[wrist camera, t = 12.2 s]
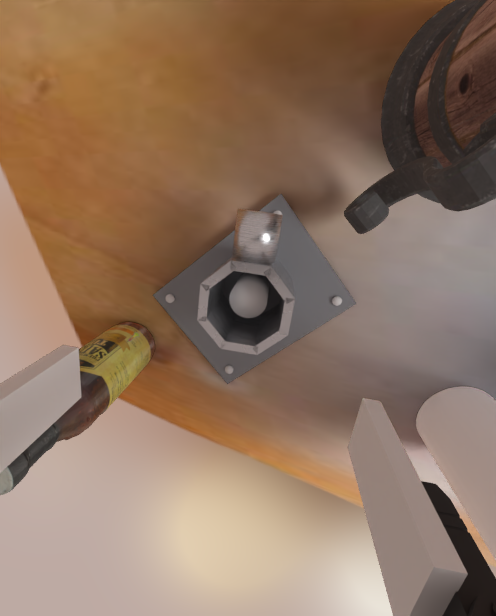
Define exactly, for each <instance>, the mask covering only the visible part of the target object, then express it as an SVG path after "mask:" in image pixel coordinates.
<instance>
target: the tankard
mask: <svg viewBox="0 0 496 616" xmlns="http://www.w3.org/2000/svg"><path fill="white" fill-rule="evenodd" d="M381 128H382V137H383V144H384V147H385V151H386V154H387V157H388V160H389V162H390V164H391V165H392V167H393V169H394V171H393V172H391V173H390V174H388V175H386V176H385V177H383V178H382V179H380V180H379V181H377V182H376V183H375V184H373V185H372V186H371V187H369V188H368V189H367V190H366V191H364V192H363V193H362V194H361V195H360V196H358V197H357V198H356V199H355V200H354V201H353V202H352V203H351V204H350V205H349V206H348V207H347V208H346V210H345V211H344V216H345V217H346V219H347V220H348V221H349V223H350V224H351V225H352V226H353V228H354V229H355V230H356V231H357V233H359V234H364V233H366V232H368V231H370V230H372V229H373V228H375V227H376V226H377V225H379V224H380V223H381V222H382V221H383V220H384V219H385V218H386V217H387V216H388V213H389V209H388V207H390V206H391V205H393V204H395V203H396V202H398V201H400V200H402V199H405V198H407V197H409V196H412V195H414V194H419V195H420V196H422V197H424V198H427V199H429V200H432V201H435V202H437V203H441V204H442V205H443V206H444V208H446V209H449V210H453V211H462V210H468V209H471V208H474V207H477V206H479V205H482V204H484V203H486V202H488V201H490V200H493V199H496V0H455V1H453V2H452V3H450V4H448V5H447V6H445V7H444V8H443V9H441V10H440V11H439V12H438V13H436V14H435V15H434V16H433V17H432V18H430V19H429V20H428V21H427V22H426V23H425V24H424V25H423V26H422V27H421V29H420V30H419V31H418V32H417V33H416V34H415V35H414V37H413V38H412V39H411V40H410V41H409V43H408V44H407V46H406V48H405V49H404V51H403V52H402V54H401V56H400V57H399V59H398V60H397V62H396V65H395V67H394V69H393V72H392V74H391V76H390V79H389V81H388V84H387V88H386V92H385V96H384V100H383V105H382V118H381Z"/></svg>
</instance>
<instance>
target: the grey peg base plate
mask: <svg viewBox="0 0 496 616" xmlns="http://www.w3.org/2000/svg"><path fill="white" fill-rule="evenodd" d="M260 211H261V212H268V213H274V214H280V215H283V217H282V223H281V229H280V235H279V241H278V248H277V254H276V256H277V258H278V259H279V261H280V262H281V263H282V265H283V266H284V267H285V269H286V270H287V272H288V273H289V274H290V276H291V277H292V281H293V288H294V295H295V302H294V307H293V312H292V318H291V323H290V328H289V333H288V336H286V337H285V338H283V339H282V340H280V341H278V342H277V343H275V344H274V345H272V346H271V347H269V348H267V349H266V350H264V351H263V352H261V353H260V354H258V355H254V354H249V353H243V352H237V351H231V350H225V349H221V348H220V347H219V346H218V345H217V344H216V342H215V341H214V340H213V339H212V338H211V336H210V335H209V334H208V333H207V332H206V330H205V329H204V328H203V327H202V325H201V324H200V323H199V322H198V321H197V317H198V306H199V294H200V284H201V283H202V282H203V281H204V280H205V279H206V278H207V277H208V276H209V275H211V274H212V273H213V272H214V271H215V270H216V269H217V268H218V267H219V266H221V265H222V264H223V263H224V262H226V261H227V260H228V259H230V258H231V257H232V252H233V243H234V235H235V230H234V231H233V232H232V233H231V234H229V235H228V236H227V237H226V238H224V239H223V240H222V241H220V242H219V243H218V244H217V245H215V246H214V247H213V248H212V249H210V250H209V251H208V252H207V253H205V254H204V255H203V256H202V257H200V258H199V259H198V260H197V261H195V262H194V263H193V264H191V265H190V266H189V267H188V268H186V269H185V270H184V271H183V272H181V273H180V274H179V275H178V276H176V277H175V278H174V279H173V280H171V281H170V282H169V283H168V284H166V285H165V286H164V287H162V288H161V289H160V290H159V291H157V292H156V293H155V294H154V295H153V296H154V297H155V299H156V300H157V301H158V302H159V303H160V304H161V306H162V307H163V308H164V309H165V310H166V312H167V313H168V314H169V315H170V316H171V318H172V319H173V320H174V321H175V322H176V323H177V325H178V326H179V327H180V328H181V329H182V331H183V332H184V333H185V334H186V335H187V336H188V338H189V339H190V340H191V341H192V342H193V344H194V345H195V346H196V347H197V348H198V350H199V351H200V352H201V353H202V354H203V355H204V357H205V358H206V359H207V360H208V361H209V363H210V364H211V365H212V366H213V367H214V368H215V370H216V371H217V372H218V373H219V374H220V376H221V377H222V378H223V379H224V380H225V382H226V383H227V384H228V383H230V382H231V381H233V380H234V379H236V378H238V377H239V376H241V375H242V374H244V373H246V372H247V371H249V370H250V369H252V368H254V367H255V366H257V365H259V364H260V363H262V362H263V361H265V360H267V359H268V358H270V357H271V356H273V355H275V354H276V353H278V352H279V351H281V350H283V349H284V348H286V347H287V346H289V345H291V344H292V343H294V342H295V341H297V340H299V339H300V338H302V337H304V336H305V335H307V334H308V333H310V332H312V331H313V330H315V329H316V328H318V327H320V326H321V325H323V324H324V323H326V322H328V321H329V320H331V319H332V318H334V317H336V316H337V315H339V314H340V313H342V312H344V311H345V310H347V309H349V308H350V307H352V306H353V305H355V304H356V302H355V301H354V299H353V298H352V296H351V295H350V293H349V292H348V290H347V289H346V288H345V286H344V285H343V283H342V282H341V280H340V279H339V277H338V276H337V274H336V273H335V272H334V270H333V269H332V267H331V266H330V264H329V263H328V261H327V260H326V258H325V257H324V256H323V254H322V253H321V251H320V250H319V248H318V247H317V245H316V244H315V242H314V241H313V239H312V238H311V237H310V235H309V234H308V232H307V231H306V229H305V228H304V226H303V225H302V223H301V222H300V221H299V219H298V218H297V216H296V215H295V213H294V212H293V210H292V209H291V207H290V206H289V205H288V203H287V202H286V200H285V199H284V197H283V196H282V194H280V195H278V196H277V197H276V198H275V199H273V200H272V201H271V202H270V203H268V204H267V205H266V206H265V207H263V208H262V209H261V210H260ZM223 294H224V295H225V296H226V298H227V299H228V300H229V302H230V305H231V308H232V309H233V311H234V312H235V313H236V314H238V315H239V316H241V317H245V318H253V317H256V316H258V315H259V316H261V315H263V314H264V313H266V312H267V311H269V310H270V309H272V308H273V307H275V306H276V305H278V304H279V303H280V300H281V295H280V294H279V293H278V291H277V290H276V289H275V287H274V286H273V285H272V283H271V282H270V281H269V279H268V278H267V277H266V276H264V275H258V274H251V273H245V272H238V271H233V272H232V273H230V274H229V275H228V276H226V277H225V284H224V293H223Z"/></svg>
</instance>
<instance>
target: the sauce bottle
mask: <svg viewBox="0 0 496 616" xmlns="http://www.w3.org/2000/svg"><path fill="white" fill-rule="evenodd" d="M154 351H155V343H154V339H153V337H152V335H151V333H150V332H149V331H148V330H147V329H146V328H145V327H144V326H142V325H140V324H137V323H133V322H124V323H120V324H118V325H116V326H113V327H111V328H109V329H108V330H106V331H105V332H104V333H102V334H101V335H99V336H98V337H96V338H95V339H93V340H92V341H90V342H89V343H87V344H86V345H84V346H83V347H82V348H80V349H79V363H80V381H81V398H80V399H79V400H78V401H77V402H76V403H75V404H74V405H73V406H72V407H71V408H69V409H68V410H67V411H66V412H65V413H64V414H63V415H62V416H61V417H60V418H59V419H58V420H57V421H56V422H54V423H53V424H52V425H51V426H50V427H49V428H48V429H47V430H46V431H45V432H44V433H43V434H42V435H41V436H40V437H38V438H37V439H36V440H35V441H34V442H33V443H32V444H31V445H30V446H29V447H28V448H27V449H26V450H25V451H23V452H22V453H21V454H20V455H19V456H18V457H17V458H16V459H15V460H14V461H13V462H12V463H11V464H10V465H8V466H7V467H6V468H5V469H4V470H3V471H2V472H1V473H0V495H2V494H5V493H8V492H10V491H11V490H12V489H13V488H14V487H15V486H16V485H17V484H18V483H19V482H20V481H21V480H22V479H23V478H24V477H25V475H26V474H27V472H28V470H29V468H30V467H31V466H32V465H33V464H34V463H35V462H36V461H37V460H38V459H39V458H40V457H41V456H42V455H43V454H44V453H45V452H46V451H48V450H49V449H51V448H52V447H53V445H54V444H55V443H56V442H57V441H60V440H63V439H65V440H68V439H70V438H72V437H75V436H77V435H79V434H80V433H82V432H83V431H84V430H86V429H87V428H89V426H90V425H92V423H93V422H94V421H95V420H96V419H97V418H98V417H99V415H101V414H102V413H103V412H105V411H106V409H107V408H108V407H109V406H110V405H111V404H112V403H113V402H114V401H115V400H116V399H117V397H118V396H119V395H120V394H121V393H122V392H123V391H124V390H125V389H126V387H127V386H128V385H129V384H130V383H131V382H132V381H133V380H134V379H135V378H136V376H137V375H138V374H139V373H140V372H141V371H142V370H143V369H144V367H145V366H146V365H147V364H148V362H149V361H150V359H151V357H152V355H153V354H154Z"/></svg>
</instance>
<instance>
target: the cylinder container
mask: <svg viewBox="0 0 496 616" xmlns="http://www.w3.org/2000/svg"><path fill="white" fill-rule="evenodd" d="M416 428H417V431H418V433H419V435H420V437H421V438H422V440H423V442H424V443H425V445H426V447H427V448H428V450H429V452H430V453H431V455H432V457H433V458H434V460H435V461H436V463H437V465H438V466H439V468H440V470H441V471H442V473H443V475H444V476H445V478H446V480H447V481H448V483H449V485H450V486H451V488H452V490H453V491H454V493H455V494H456V496H457V498H458V499H459V501H460V503H461V504H462V506H463V508H464V509H465V511H466V513H467V514H468V516H469V518H470V519H471V521H472V522H473V524H474V526H475V527H476V529H477V531H478V532H479V534H480V536H481V537H482V539H483V541H484V542H485V544H486V546H487V547H488V549H489V551H490V552H491V554H492V555H493V557H494V559H495V560H496V400H495V399H494V398H493V397H492V396H490V395H489V394H488V393H486V392H485V391H482V390H480V389H477V388H473V387H465V386H460V387H452V388H448V389H445V390H442V391H440V392H438V393H436V394H434V395H433V396H431V397H430V398H429V399H427V400H426V401H425V402H424V404H423V405H422V406H421V408H420V409H419V412H418V414H417V418H416Z"/></svg>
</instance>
